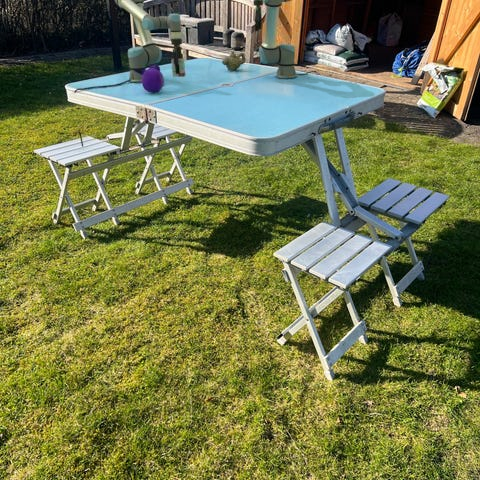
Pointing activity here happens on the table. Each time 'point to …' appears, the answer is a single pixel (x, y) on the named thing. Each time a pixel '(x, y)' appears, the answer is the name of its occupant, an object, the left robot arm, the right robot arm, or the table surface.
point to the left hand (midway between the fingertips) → (178, 73)
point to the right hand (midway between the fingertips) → (258, 30)
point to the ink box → (181, 68)
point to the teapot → (233, 61)
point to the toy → (152, 79)
